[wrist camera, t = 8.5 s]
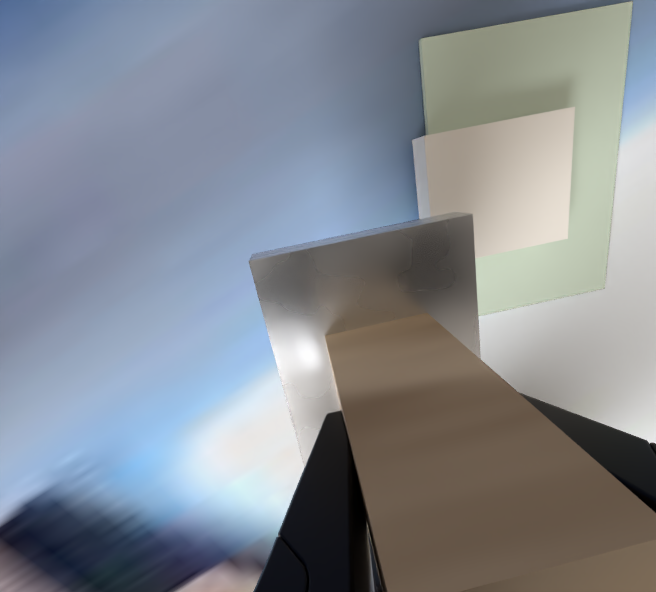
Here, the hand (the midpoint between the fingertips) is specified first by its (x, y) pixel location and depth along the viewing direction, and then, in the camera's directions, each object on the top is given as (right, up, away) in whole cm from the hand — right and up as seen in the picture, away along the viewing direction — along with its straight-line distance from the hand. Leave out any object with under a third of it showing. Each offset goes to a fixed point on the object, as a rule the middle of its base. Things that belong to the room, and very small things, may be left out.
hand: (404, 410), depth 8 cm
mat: (+8, +9, +9) cm, 15 cm away
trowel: (0, +1, +3) cm, 3 cm away
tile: (+3, +7, +8) cm, 11 cm away
